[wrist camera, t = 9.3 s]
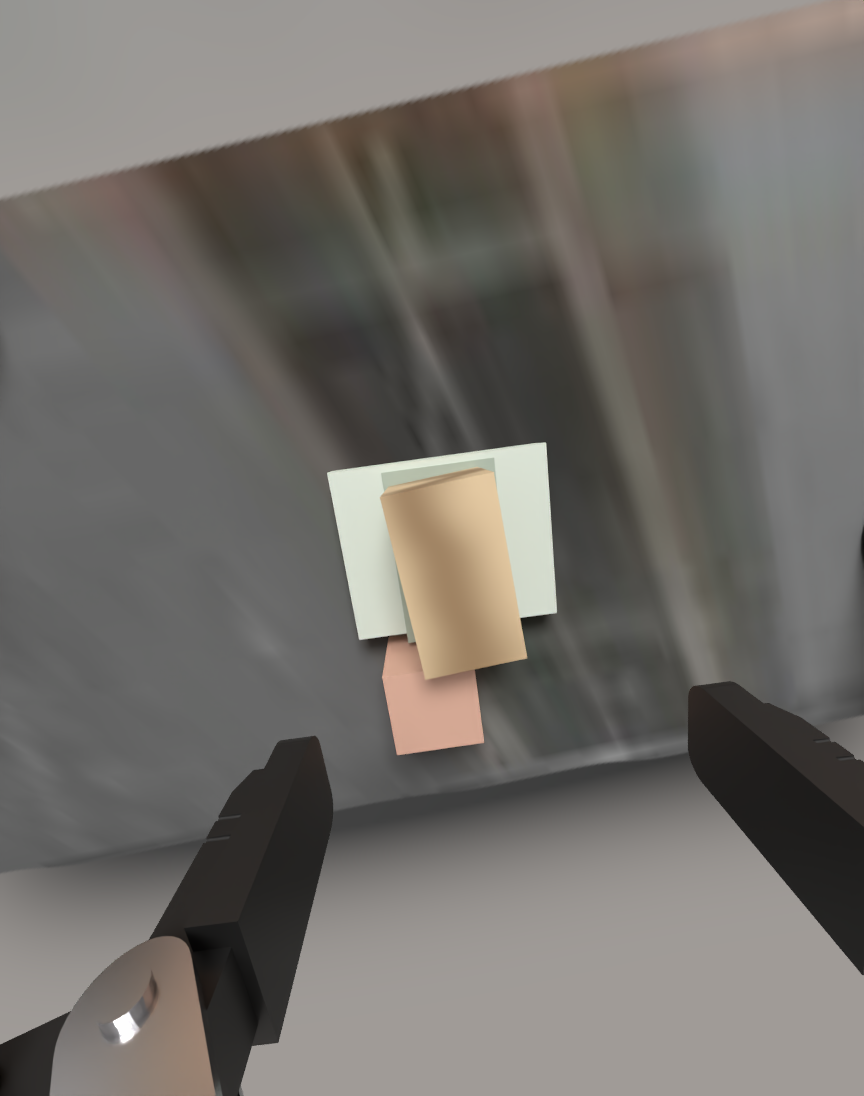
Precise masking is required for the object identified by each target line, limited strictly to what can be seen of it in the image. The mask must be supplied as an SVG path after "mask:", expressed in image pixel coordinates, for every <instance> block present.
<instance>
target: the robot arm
mask: <svg viewBox="0 0 864 1096" xmlns="http://www.w3.org/2000/svg"><path fill="white" fill-rule="evenodd" d="M688 751H689V756H690V760H691V763H692V765H693V768H694V770H695V772H696V774H697V776H698V777H699V779H700V780H701V782H702V783H703V784H704V785H705V787H706V788H707V789H708V790H709V791H710V793H711V794H712V795H713V796H714V797H715V799H716V800H717V801H718V802H719V803H720V804H721V806H722V807H723V808H724V809H725V810H726V812H727V813H728V814H729V815H730V816H731V818H732V819H733V820H734V821H735V823H736V824H737V825H738V826H739V827H740V829H741V830H742V831H743V832H744V833H745V835H746V836H747V837H748V838H749V839H750V841H751V842H752V843H753V844H754V845H755V847H756V848H757V849H758V850H759V851H760V853H761V854H762V855H763V856H764V857H765V858H766V860H767V861H768V862H769V863H770V865H771V866H772V867H773V868H774V869H775V870H776V872H777V873H778V874H779V875H780V877H781V878H782V879H783V880H784V881H785V883H786V884H787V885H788V886H789V887H790V889H791V890H792V891H793V892H794V893H795V895H796V896H797V897H798V898H799V899H800V901H801V902H802V903H803V904H804V905H805V907H806V908H807V909H808V910H809V911H810V913H811V914H812V915H813V916H814V917H815V919H816V920H817V921H818V922H819V923H820V925H821V926H822V927H823V928H824V929H825V931H826V932H827V933H828V934H829V935H830V936H831V938H832V939H833V940H834V941H835V943H836V944H837V945H838V946H839V947H840V949H841V950H842V951H843V952H844V953H845V955H846V956H847V957H848V958H849V959H850V961H851V962H852V963H853V964H854V965H855V967H856V968H857V969H858V970H859V971H860V973H861V974H862V975H864V762H863V761H861V760H856V759H855V758H854V755H853V754H851V753H850V752H849V751H847V750H846V749H844V748H843V747H842V746H840V745H839V744H837V743H836V742H831V741H830V739H829V737H828V736H826V735H825V734H823V733H822V732H821V731H819V730H818V729H816V728H815V727H814V726H812V725H811V724H809V723H808V722H806V721H805V720H804V719H802V718H801V717H798V716H796V715H794V714H792V713H789V712H787V711H785V710H783V709H781V708H778V707H776V706H774V705H772V704H769V703H762V702H761V701H760V700H758V699H757V698H756V697H754V696H753V695H752V694H750V693H749V692H748V691H746V690H745V689H744V688H742V687H741V686H740V685H738V684H736V683H734V682H731V681H729V682H721V683H714V684H706V685H699V686H693V687H692V688H691V689H690V691H689V696H688ZM218 817H219V819H218V821H216V822H215V823H214V825H213V827H212V829H211V831H210V832H209V834H208V836H207V841H206V843H203V845H202V847H201V848H200V850H199V852H198V854H197V855H196V857H195V859H194V861H193V863H192V864H191V866H190V868H189V870H188V871H187V873H186V875H185V877H184V879H183V880H182V882H181V884H180V886H179V887H178V889H177V891H176V893H175V895H174V896H173V898H172V900H171V902H170V903H169V905H168V907H167V909H166V910H165V912H164V914H163V916H162V918H161V919H160V921H159V923H158V925H157V926H156V928H155V930H154V932H153V934H152V935H151V937H150V939H149V940H147V941H145V942H143V943H141V944H139V945H137V946H135V947H134V948H132V949H130V950H129V951H127V952H126V953H124V954H123V955H122V956H120V957H119V958H118V959H116V960H115V961H114V962H113V963H111V964H110V965H109V966H108V967H107V968H106V969H105V970H104V971H103V972H102V973H101V974H100V975H99V976H98V977H97V978H96V979H95V980H94V981H93V982H92V983H91V984H90V986H89V987H88V988H87V989H86V990H85V991H84V993H83V994H82V996H81V997H80V998H79V1000H78V1001H77V1002H76V1004H75V1005H74V1007H73V1009H72V1011H70V1012H68V1013H66V1014H64V1015H62V1016H60V1017H58V1018H55V1019H53V1020H51V1021H49V1022H47V1023H45V1024H43V1025H41V1026H39V1027H37V1028H35V1029H32V1030H30V1031H28V1032H26V1033H24V1034H22V1035H20V1036H17V1037H15V1038H13V1039H11V1040H9V1041H7V1042H5V1043H3V1044H0V1096H244V1095H243V1091H242V1088H241V1082H242V1078H243V1075H244V1071H245V1068H246V1064H247V1061H248V1057H249V1054H250V1050H251V1047H252V1046H255V1045H264V1044H272V1043H278V1042H279V1037H280V1034H281V1030H282V1026H283V1021H284V1017H285V1013H286V1009H287V1005H288V1001H289V997H290V993H291V989H292V985H293V981H294V977H295V973H296V969H297V964H298V961H299V957H300V953H301V949H302V945H303V941H304V936H305V932H306V929H307V924H308V920H309V916H310V912H311V908H312V904H313V900H314V896H315V892H316V888H317V884H318V880H319V876H320V872H321V868H322V864H323V860H324V856H325V852H326V848H327V844H328V840H329V836H330V831H331V827H332V819H333V799H332V793H331V788H330V784H329V780H328V776H327V772H326V767H325V763H324V759H323V755H322V751H321V746H320V743H319V740H318V738H317V737H316V736H310V737H303V738H295V739H288V740H281V741H279V742H278V743H277V745H276V746H275V748H274V750H273V752H272V754H271V756H270V758H269V760H268V762H267V764H266V766H265V768H264V769H259V770H253V771H252V772H251V773H250V774H249V775H248V776H247V777H246V778H245V779H244V780H243V781H242V782H241V783H240V785H239V786H238V787H237V788H236V789H235V790H234V791H233V792H232V793H231V795H230V797H229V799H228V800H227V802H226V804H225V806H224V807H223V809H222V811H221V813H220V815H219V816H218Z"/></svg>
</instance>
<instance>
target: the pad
mask: <svg viewBox="0 0 864 1096" xmlns="http://www.w3.org/2000/svg"><path fill="white" fill-rule="evenodd" d="M474 467H480V468H483V469H486V470H489V471H492V472H494V476H495V481H496V487H497V493H498V498H499V504H500V509H501V515H502V520H503V526H504V532H505V537H506V543H507V548H508V554H509V559H510V565H511V571H512V576H513V582H514V587H515V593H516V598H517V604H518V609H519V615H520V618H523V617H530V616H537V615H545V614H552V613H557V606H556V591H555V575H554V560H553V544H552V528H551V513H550V497H549V482H548V466H547V451H546V443H533V444H525V445H518V446H511V447H504V448H496V449H489V450H482V451H474V452H467V453H460V454H453V455H445V456H438V457H431V458H424V459H416V460H409V461H402V462H394V463H387V464H380V465H373V466H365V467H358V468H351V469H343V470H336V471H332V472H328V473H327V475H328V480H329V485H330V490H331V495H332V501H333V506H334V511H335V516H336V521H337V527H338V532H339V537H340V542H341V547H342V553H343V558H344V563H345V568H346V573H347V579H348V584H349V589H350V594H351V599H352V605H353V610H354V615H355V620H356V625H357V631H358V636H359V640H362V639H369V638H377V637H384V636H391V635H399V634H406V633H407V637H408V643H413V642H416V640H415V636H414V632H413V628H412V624H411V620H410V616H409V612H408V608H407V604H406V600H405V596H404V592H403V588H402V584H401V580H400V576H399V572H398V568H397V564H396V560H395V556H394V552H393V548H392V544H391V540H390V536H389V532H388V528H387V524H386V520H385V516H384V512H383V508H382V504H381V500H380V497H381V495H382V494H383V493H384V492H385V490H386V489H387V488H388V487H389V486H394V485H398V484H403V483H407V482H412V481H416V480H421V479H425V478H429V477H434V476H438V475H443V474H447V473H452V472H456V471H461V470H465V469H470V468H474Z"/></svg>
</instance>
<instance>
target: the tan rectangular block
mask: <svg viewBox="0 0 864 1096" xmlns="http://www.w3.org/2000/svg"><path fill="white" fill-rule="evenodd" d="M380 500H381V504H382V508H383V512H384V516H385V520H386V524H387V528H388V532H389V536H390V540H391V544H392V548H393V552H394V556H395V560H396V564H397V568H398V572H399V576H400V580H401V584H402V588H403V592H404V596H405V600H406V604H407V608H408V612H409V616H410V620H411V624H412V628H413V632H414V636H415V640H416V644H417V648H418V652H419V656H420V660H421V664H422V668H423V672H424V676H425V680H427V679H432V678H437V677H441V676H446V675H451V674H455V673H460V672H465V671H469V670H474V669H479V668H483V667H488V666H493V665H497V664H502V663H507V662H511V661H516V660H521V659H526V658H527V654H526V648H525V643H524V637H523V632H522V626H521V621H520V615H519V609H518V604H517V598H516V593H515V587H514V582H513V576H512V571H511V565H510V559H509V554H508V548H507V543H506V537H505V532H504V526H503V520H502V515H501V509H500V504H499V498H498V493H497V487H496V481H495V476H494V472H492V471H489V470H486V469H483V468H480V467H474V468H470V469H465V470H461V471H456V472H452V473H447V474H443V475H438V476H434V477H429V478H425V479H421V480H416V481H412V482H407V483H403V484H398V485H394V486H389V487H388V488H387V489H386V490H385V492H384V493H383V494H382V495H381V497H380Z"/></svg>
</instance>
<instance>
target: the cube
mask: <svg viewBox="0 0 864 1096" xmlns="http://www.w3.org/2000/svg"><path fill="white" fill-rule="evenodd" d="M382 678H383V683H384V689H385V694H386V699H387V704H388V710H389V715H390V720H391V725H392V731H393V736H394V741H395V746H396V752H397V755H402V754H409V753H416V752H423V751H430V750H437V749H444V748H451V747H458V746H465V745H472V744H479V743H484V737H483V730H482V722H481V714H480V706H479V699H478V691H477V683H476V675H475V669H474V670H469V671H465V672H460V673H455V674H451V675H446V676H441V677H437V678H432V679H427V680H425V676H424V672H423V668H422V664H421V660H420V656H419V652H418V648H417V644H416V642H413V643H408V637H407V634H404V635H397V636H390V637H389V638H388V645H387V651H386V657H385V664H384V670H383V676H382Z"/></svg>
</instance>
